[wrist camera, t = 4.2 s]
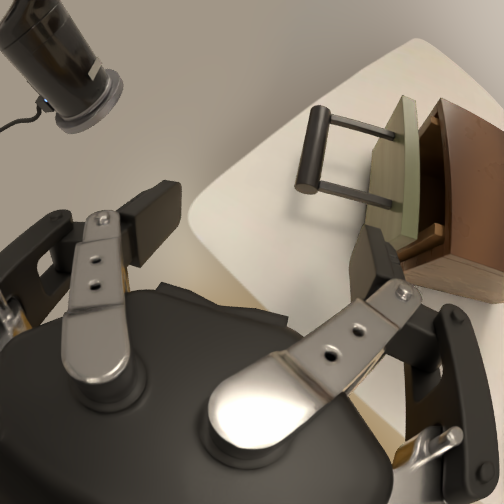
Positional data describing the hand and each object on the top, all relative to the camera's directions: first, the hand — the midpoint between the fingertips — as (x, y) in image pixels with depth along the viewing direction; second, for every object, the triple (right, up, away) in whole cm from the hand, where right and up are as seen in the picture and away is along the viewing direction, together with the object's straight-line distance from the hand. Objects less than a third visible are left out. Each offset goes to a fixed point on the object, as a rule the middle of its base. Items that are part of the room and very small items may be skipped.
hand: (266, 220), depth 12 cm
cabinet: (+20, +1, +12) cm, 24 cm away
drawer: (+13, +3, +12) cm, 18 cm away
